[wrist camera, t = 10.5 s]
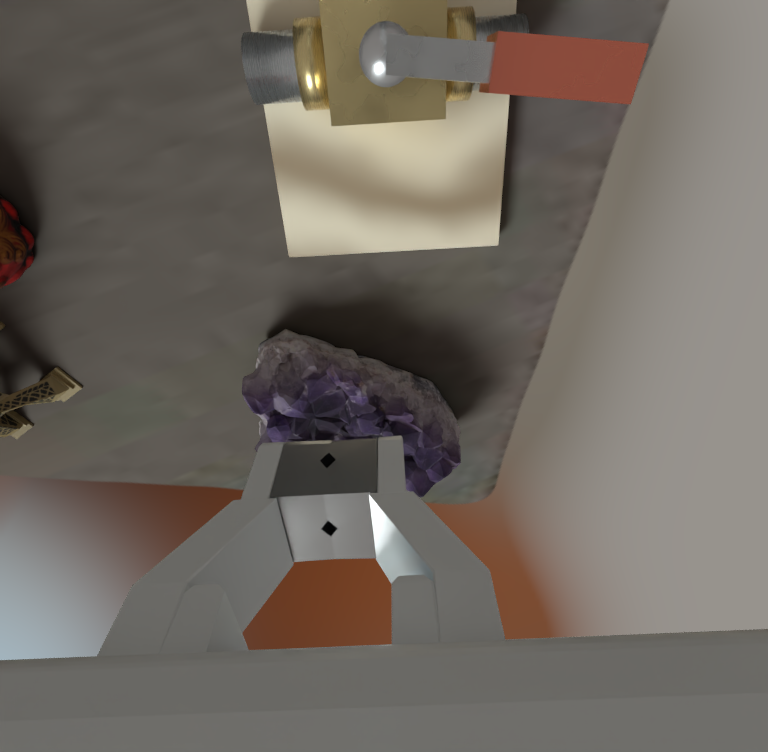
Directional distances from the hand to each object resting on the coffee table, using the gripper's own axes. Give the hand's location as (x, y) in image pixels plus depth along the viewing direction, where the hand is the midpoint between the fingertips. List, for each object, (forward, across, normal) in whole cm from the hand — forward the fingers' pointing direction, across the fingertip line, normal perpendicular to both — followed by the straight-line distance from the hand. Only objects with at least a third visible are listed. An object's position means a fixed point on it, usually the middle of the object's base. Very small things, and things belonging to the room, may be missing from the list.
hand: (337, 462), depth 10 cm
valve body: (+29, -2, -8) cm, 30 cm away
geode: (+30, +2, +18) cm, 34 cm away
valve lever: (+22, -7, -7) cm, 24 cm away
